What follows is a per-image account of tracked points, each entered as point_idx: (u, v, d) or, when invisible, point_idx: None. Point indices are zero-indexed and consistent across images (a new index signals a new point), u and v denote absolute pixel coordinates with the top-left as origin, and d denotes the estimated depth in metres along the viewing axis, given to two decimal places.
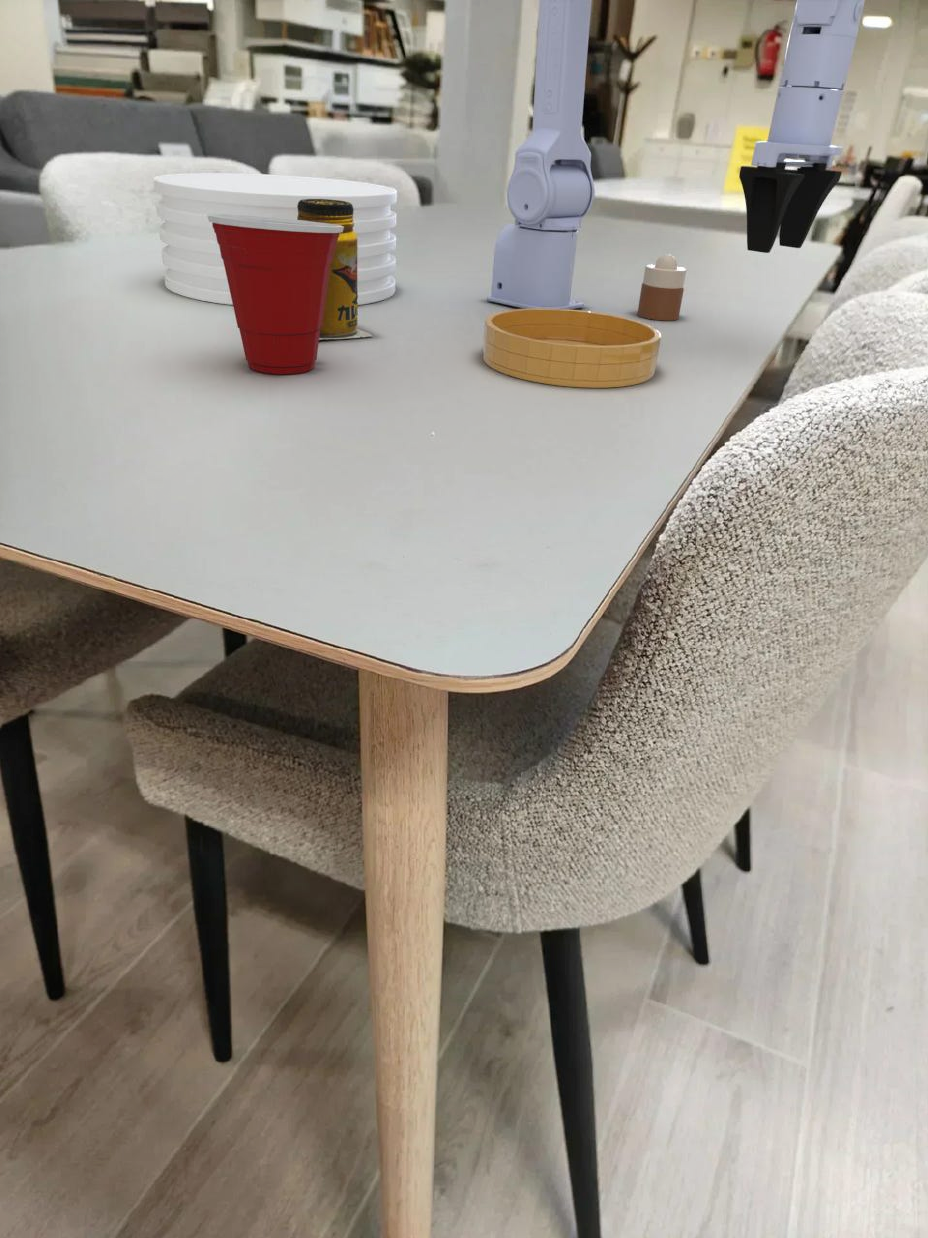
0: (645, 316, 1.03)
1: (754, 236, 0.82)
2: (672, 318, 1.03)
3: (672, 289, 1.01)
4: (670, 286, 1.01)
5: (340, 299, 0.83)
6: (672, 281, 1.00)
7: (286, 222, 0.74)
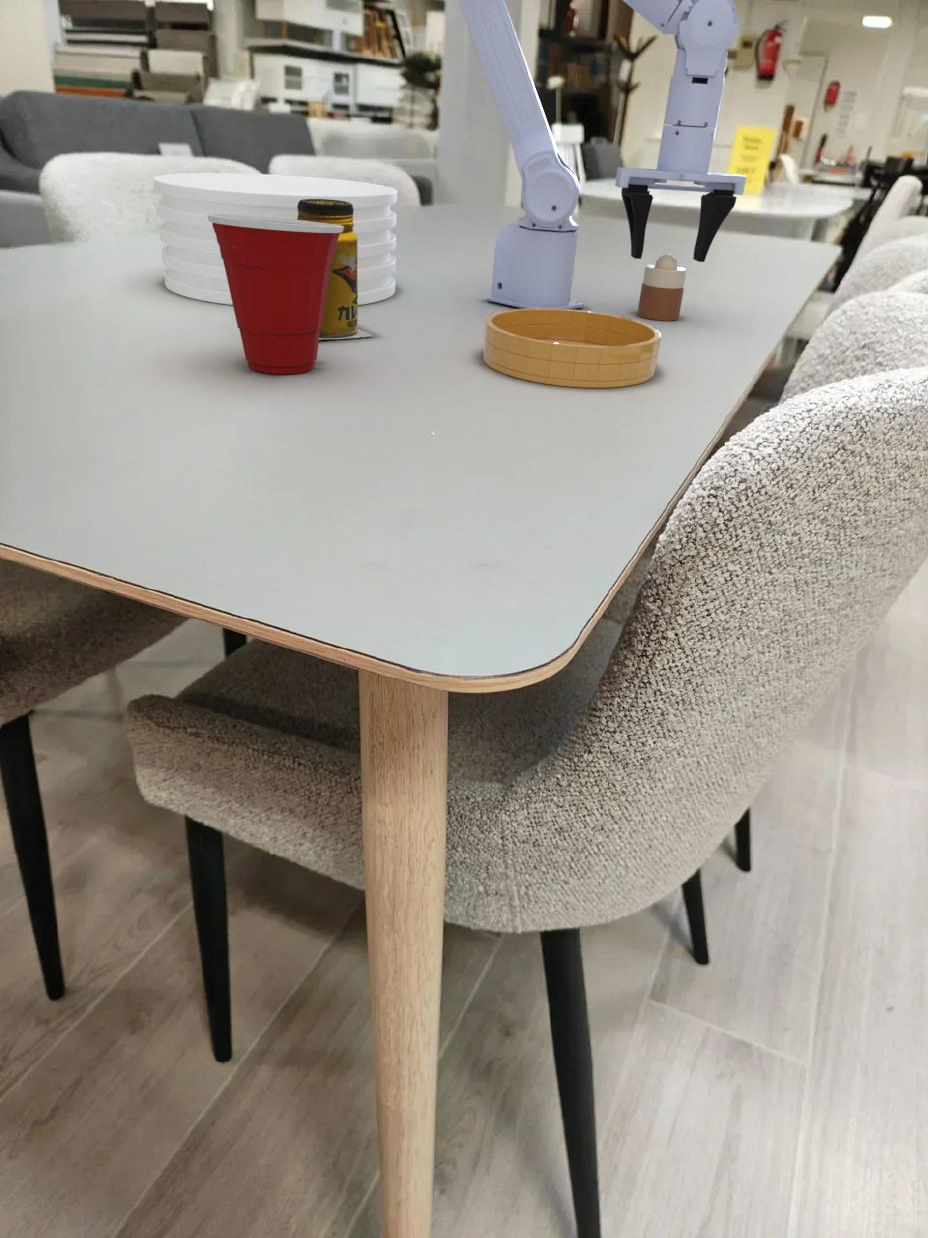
0: (645, 316, 1.03)
1: (632, 244, 1.01)
2: (672, 318, 1.03)
3: (672, 289, 1.01)
4: (670, 286, 1.01)
5: (340, 299, 0.83)
6: (672, 281, 1.00)
7: (286, 222, 0.74)
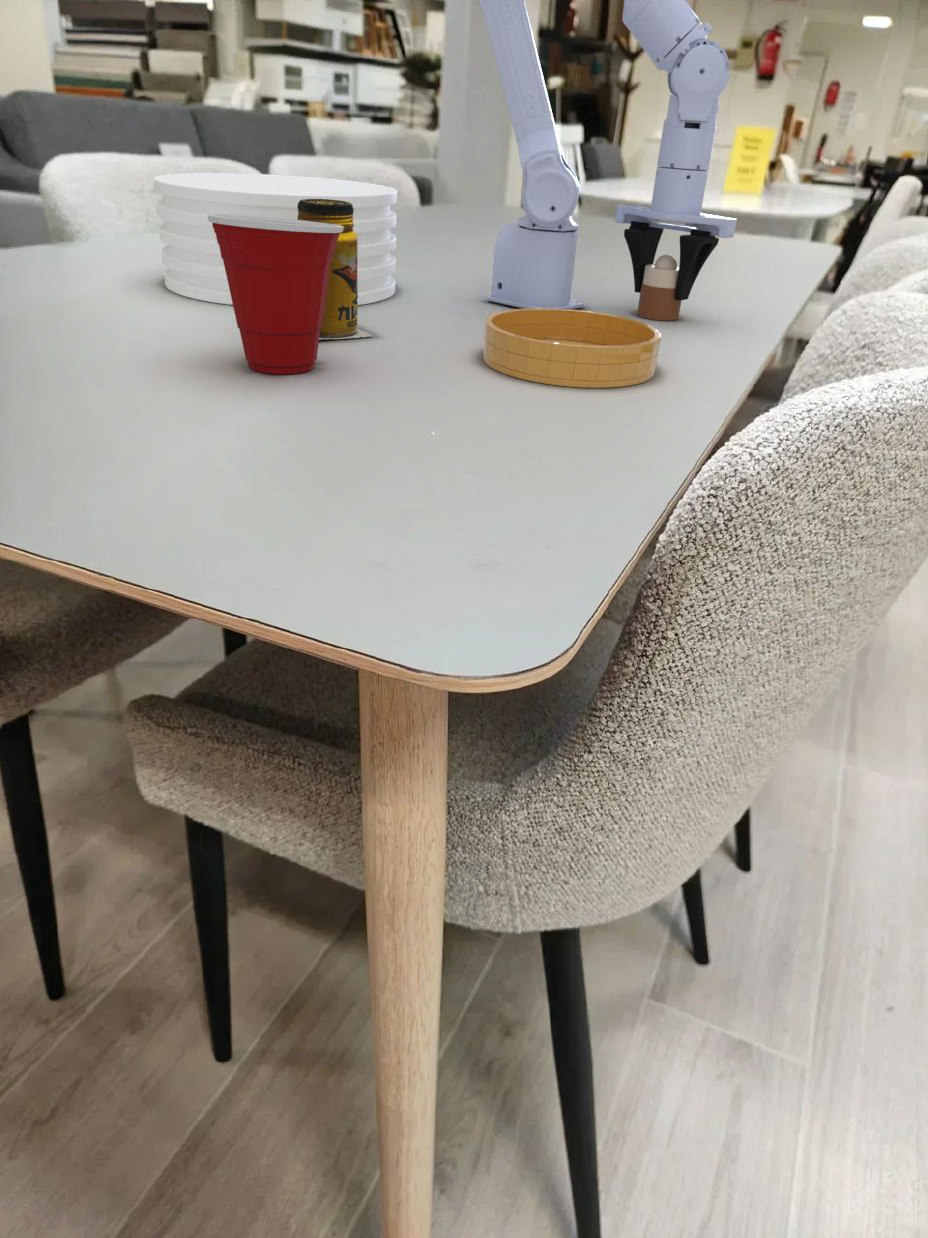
0: (645, 316, 1.03)
1: (685, 288, 1.01)
2: (672, 318, 1.03)
3: (671, 289, 1.01)
4: (670, 286, 1.01)
5: (340, 299, 0.83)
6: (672, 281, 1.01)
7: (286, 222, 0.74)
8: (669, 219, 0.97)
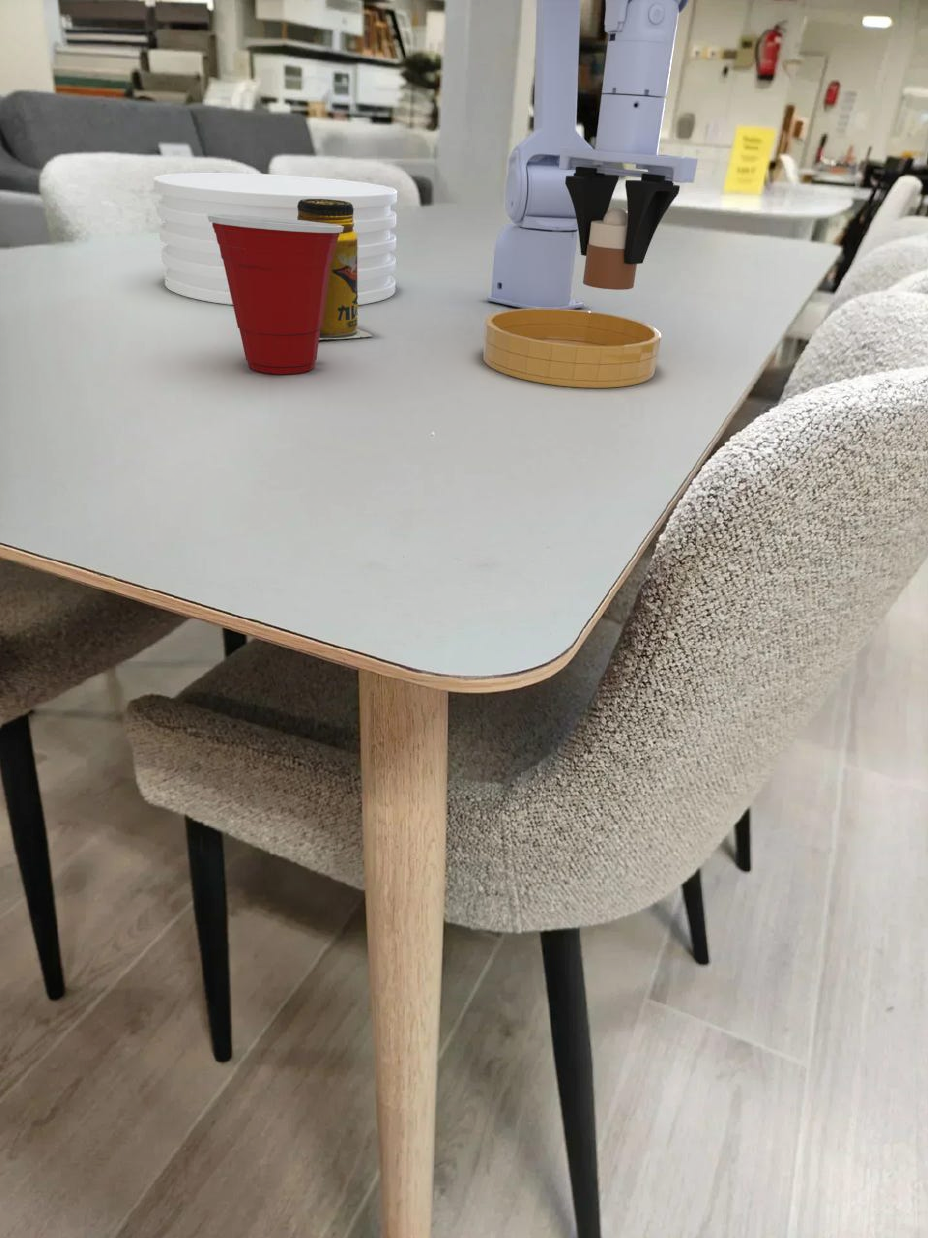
0: (589, 284, 0.84)
1: (636, 249, 0.81)
2: (622, 287, 0.83)
3: (620, 249, 0.81)
4: (618, 246, 0.81)
5: (340, 299, 0.83)
6: (621, 240, 0.81)
7: (286, 222, 0.74)
8: (613, 160, 0.77)
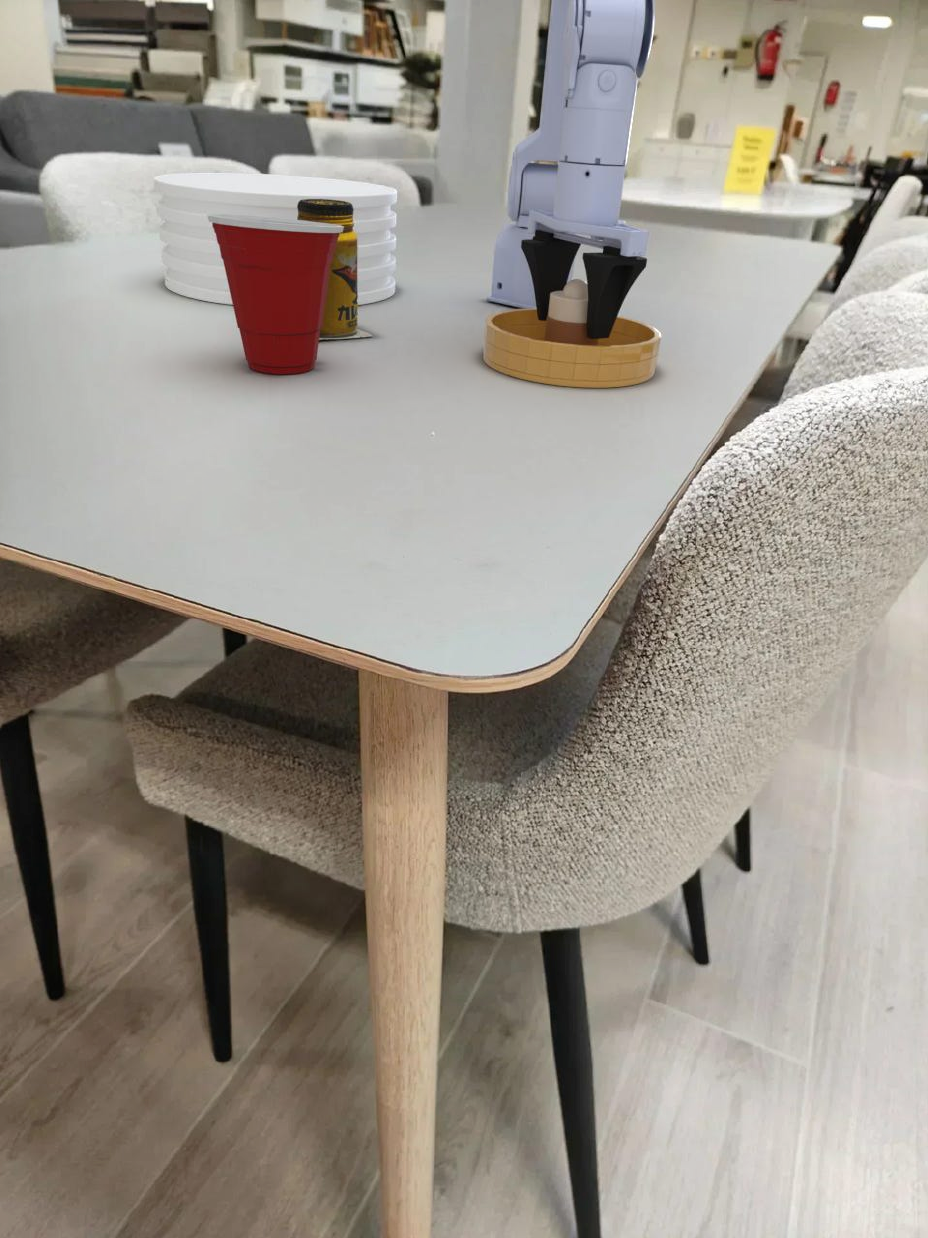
0: None
1: (599, 324, 0.76)
2: None
3: (575, 323, 0.77)
4: (572, 320, 0.77)
5: (340, 299, 0.83)
6: (575, 314, 0.77)
7: (286, 222, 0.74)
8: (564, 229, 0.73)
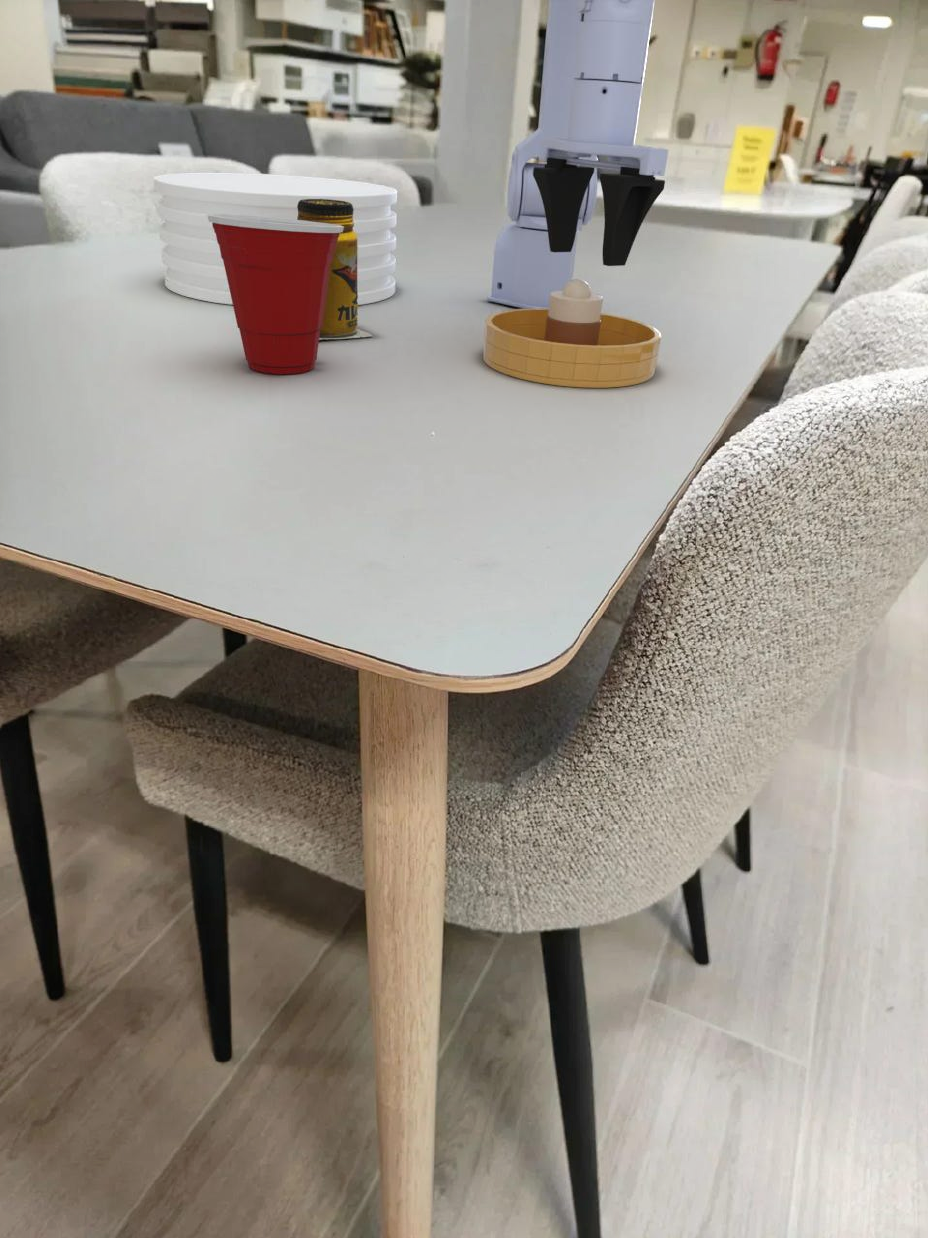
0: None
1: (615, 250, 0.74)
2: None
3: (575, 323, 0.77)
4: (572, 320, 0.77)
5: (340, 299, 0.83)
6: (575, 314, 0.77)
7: (286, 222, 0.74)
8: (580, 150, 0.72)
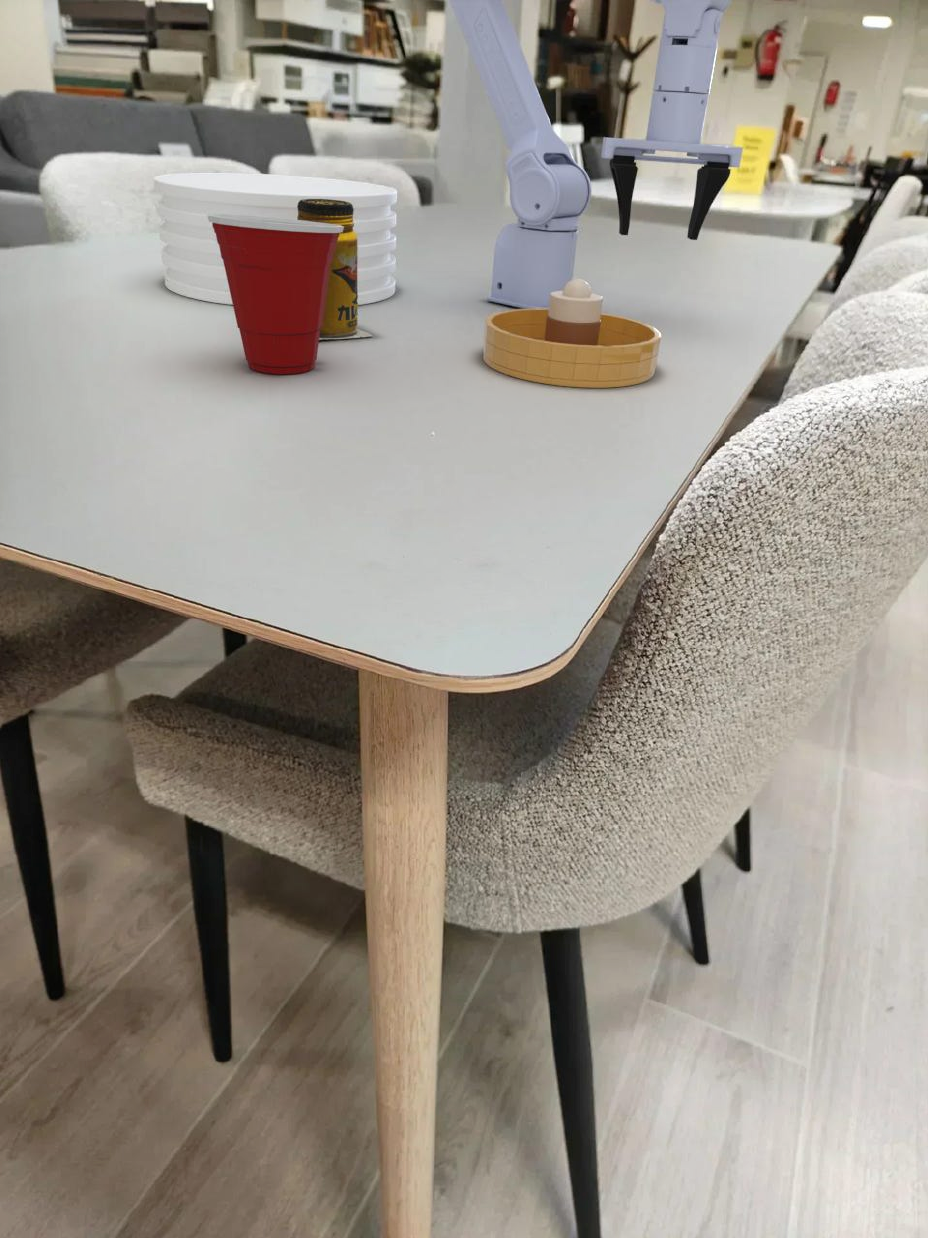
0: None
1: None
2: None
3: (575, 323, 0.77)
4: (572, 320, 0.77)
5: (340, 299, 0.83)
6: (575, 314, 0.77)
7: (286, 222, 0.74)
8: (686, 150, 0.89)
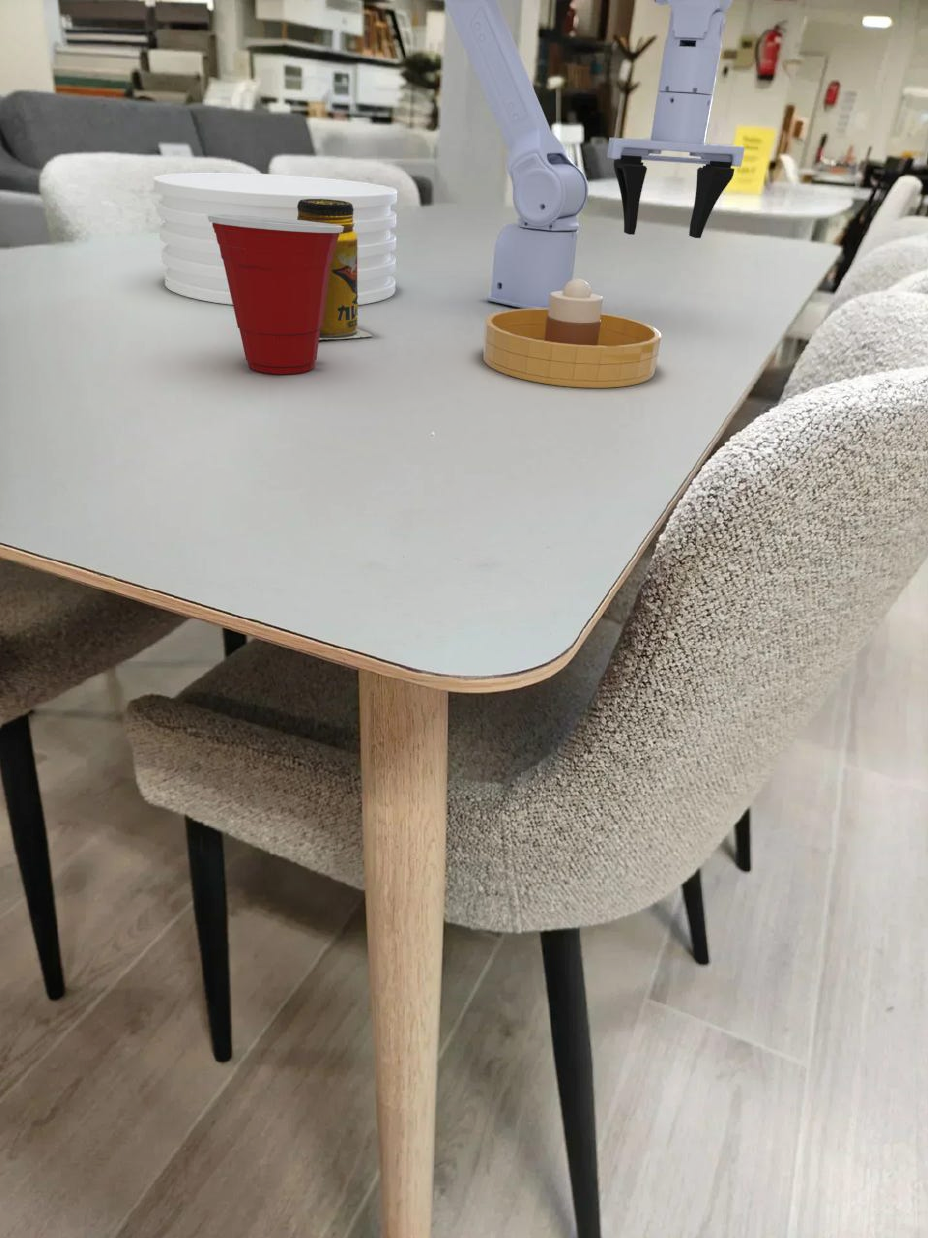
0: None
1: None
2: None
3: (575, 323, 0.77)
4: (572, 320, 0.77)
5: (340, 299, 0.83)
6: (575, 314, 0.77)
7: (286, 222, 0.74)
8: (693, 150, 0.90)
